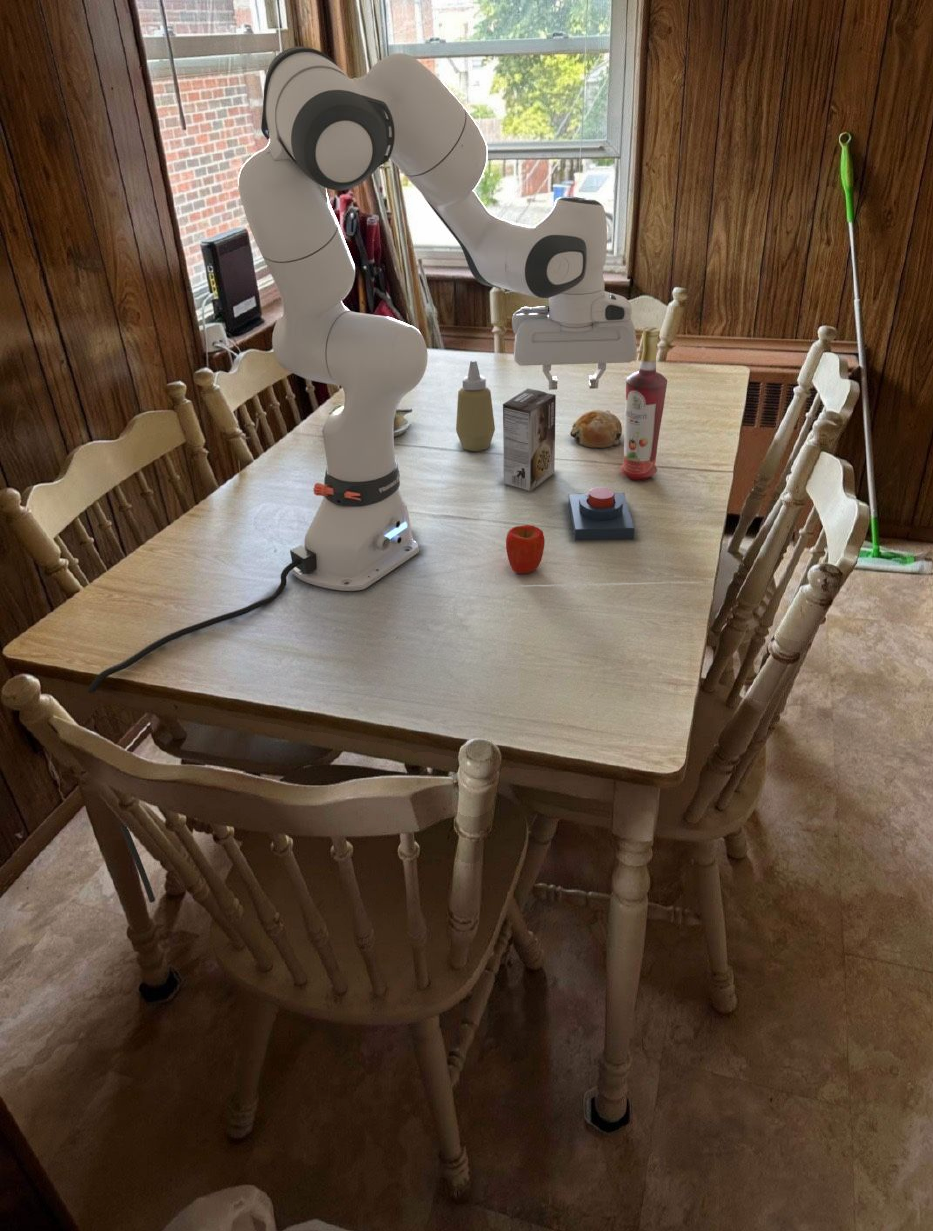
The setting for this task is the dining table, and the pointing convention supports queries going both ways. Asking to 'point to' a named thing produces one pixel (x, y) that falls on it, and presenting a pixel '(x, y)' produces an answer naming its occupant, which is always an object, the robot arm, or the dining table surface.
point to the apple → (525, 548)
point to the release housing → (600, 519)
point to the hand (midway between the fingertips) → (572, 388)
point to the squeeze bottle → (474, 411)
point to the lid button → (601, 497)
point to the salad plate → (397, 420)
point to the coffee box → (529, 438)
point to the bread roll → (597, 429)
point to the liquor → (643, 412)
